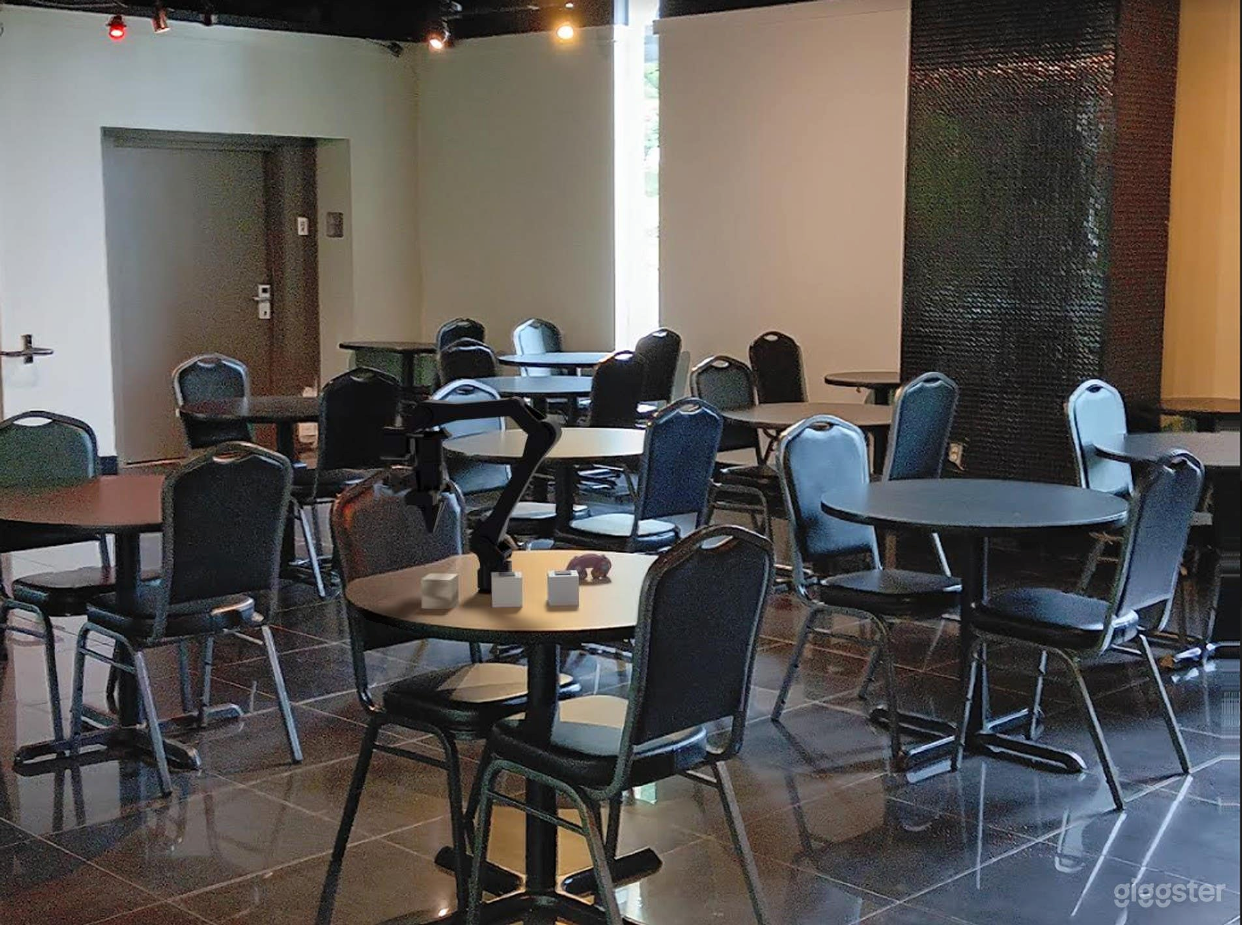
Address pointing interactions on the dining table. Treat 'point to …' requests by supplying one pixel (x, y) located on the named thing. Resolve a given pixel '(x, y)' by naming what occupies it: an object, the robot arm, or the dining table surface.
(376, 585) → the dining table surface
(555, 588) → the grey numbered cube
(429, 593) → the plain ash cube
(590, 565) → the video game controller
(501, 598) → the off-white numbered cube
